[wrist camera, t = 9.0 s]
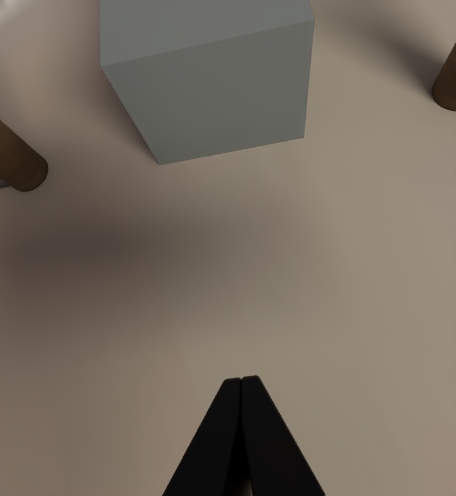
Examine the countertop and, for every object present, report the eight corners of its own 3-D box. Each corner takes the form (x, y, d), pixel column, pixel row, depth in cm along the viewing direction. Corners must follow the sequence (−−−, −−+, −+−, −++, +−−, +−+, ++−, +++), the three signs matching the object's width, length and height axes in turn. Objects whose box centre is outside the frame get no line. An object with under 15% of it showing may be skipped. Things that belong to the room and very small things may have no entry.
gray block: (303, 138, 25) (318, -26, 14) (160, 166, 26) (77, 29, 15) (269, -9, 29) (263, -214, 19) (149, 19, 30) (79, -163, 20)
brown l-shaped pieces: (653, 78, 22) (981, -180, 12) (-111, 218, 27) (-356, 124, 17) (627, 36, 24) (905, -233, 13) (-103, 179, 28) (-328, 67, 18)
